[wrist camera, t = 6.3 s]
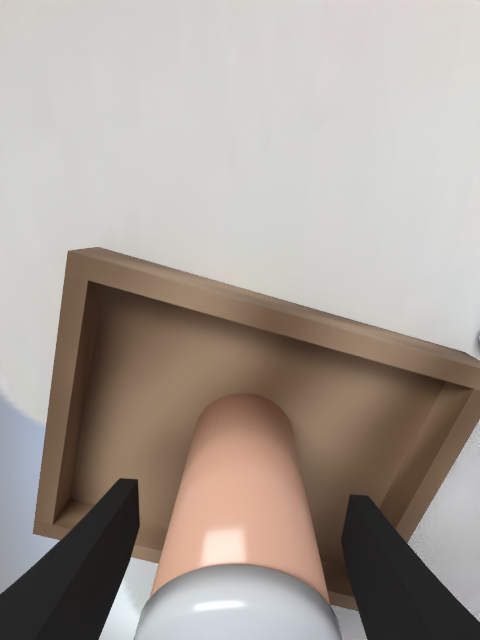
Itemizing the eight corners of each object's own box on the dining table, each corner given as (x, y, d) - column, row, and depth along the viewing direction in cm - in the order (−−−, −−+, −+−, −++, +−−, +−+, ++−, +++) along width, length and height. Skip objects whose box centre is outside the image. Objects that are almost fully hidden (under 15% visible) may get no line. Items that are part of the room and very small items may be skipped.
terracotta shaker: (295, 389, 13) (357, 608, 6) (295, 477, 15) (347, 754, 7) (187, 393, 14) (106, 611, 6) (197, 480, 15) (142, 751, 7)
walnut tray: (465, 352, 13) (504, 375, 11) (351, 565, 17) (366, 612, 15) (98, 247, 13) (67, 250, 11) (60, 494, 16) (32, 533, 14)
